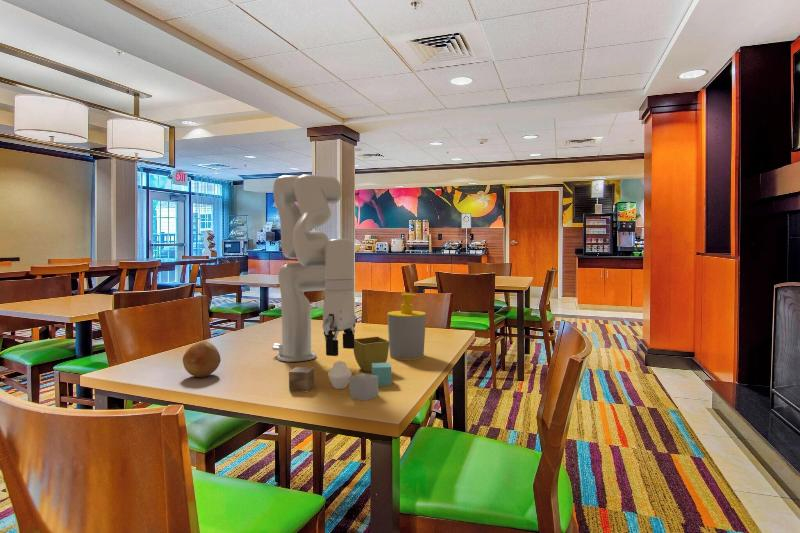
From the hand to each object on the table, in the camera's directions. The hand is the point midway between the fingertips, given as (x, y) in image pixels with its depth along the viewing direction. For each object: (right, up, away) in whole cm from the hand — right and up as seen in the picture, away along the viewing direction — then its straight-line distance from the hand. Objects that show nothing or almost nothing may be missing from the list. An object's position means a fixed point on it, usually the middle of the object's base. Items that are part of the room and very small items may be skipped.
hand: (340, 351), depth 121 cm
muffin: (0, -10, +1) cm, 10 cm away
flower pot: (+7, -9, +19) cm, 22 cm away
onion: (-41, -9, +11) cm, 44 cm away
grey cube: (+7, -10, -7) cm, 14 cm away
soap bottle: (+18, -8, +36) cm, 41 cm away
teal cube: (+10, -9, +5) cm, 15 cm away
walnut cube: (-10, -10, 0) cm, 14 cm away
